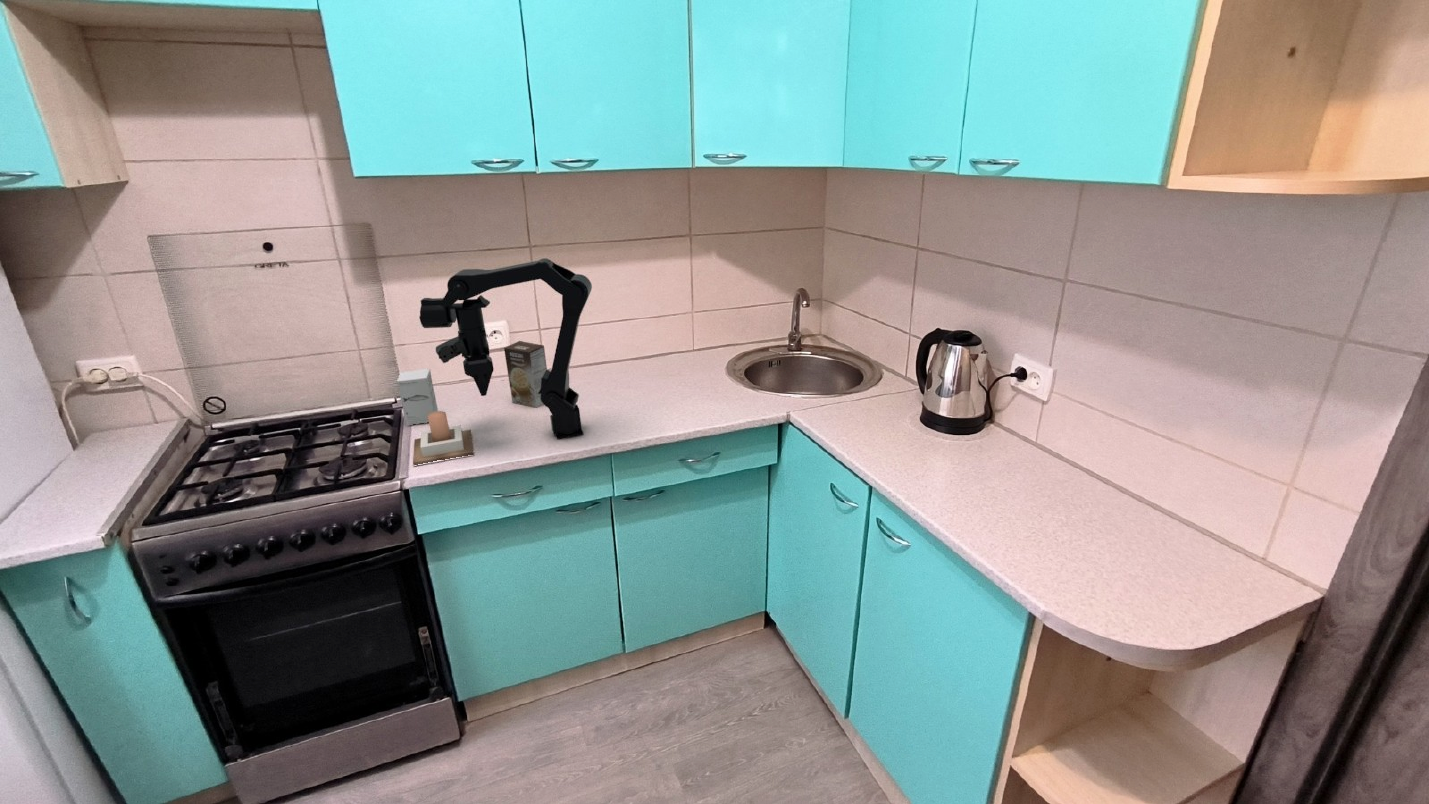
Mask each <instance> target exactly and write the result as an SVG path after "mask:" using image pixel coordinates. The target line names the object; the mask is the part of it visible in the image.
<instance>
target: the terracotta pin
mask: <svg viewBox="0 0 1429 804" xmlns="http://www.w3.org/2000/svg"><path fill="white" fill-rule="evenodd" d="M447 418H448V417H447V412H446V411H442V410H438V411H437V412H433V413H430V414H429V415H428V421H429V423H428V424H429V425H428V426H429V430H431V434H432V439H433V443H434V442H440V441H445V440H451V436H450V431H449V427H450V426H449V422H448V419H447Z"/></svg>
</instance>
